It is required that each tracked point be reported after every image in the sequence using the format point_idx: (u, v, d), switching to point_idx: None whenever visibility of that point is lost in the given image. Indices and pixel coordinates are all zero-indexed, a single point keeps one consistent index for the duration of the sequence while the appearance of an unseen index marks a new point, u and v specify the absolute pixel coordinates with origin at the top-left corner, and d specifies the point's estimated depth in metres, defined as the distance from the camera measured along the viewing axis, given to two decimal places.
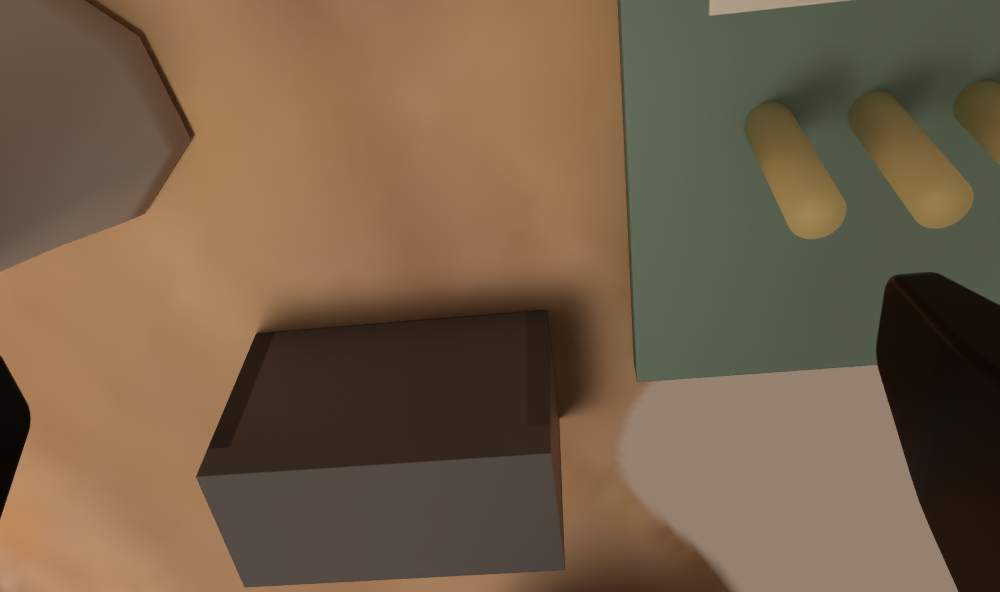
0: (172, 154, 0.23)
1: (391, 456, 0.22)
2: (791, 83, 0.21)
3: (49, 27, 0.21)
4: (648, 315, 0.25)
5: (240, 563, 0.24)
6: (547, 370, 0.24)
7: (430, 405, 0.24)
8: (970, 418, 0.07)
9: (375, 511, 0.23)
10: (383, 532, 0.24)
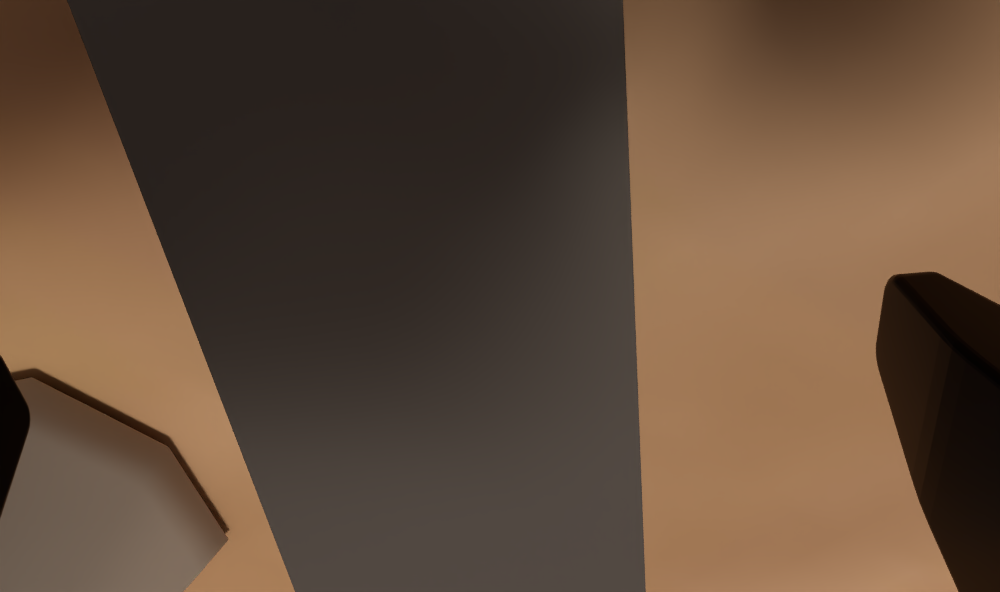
0: (31, 411, 0.17)
1: None
2: None
3: None
4: None
5: None
6: None
7: None
8: (970, 418, 0.07)
9: (372, 368, 0.09)
10: (446, 359, 0.09)
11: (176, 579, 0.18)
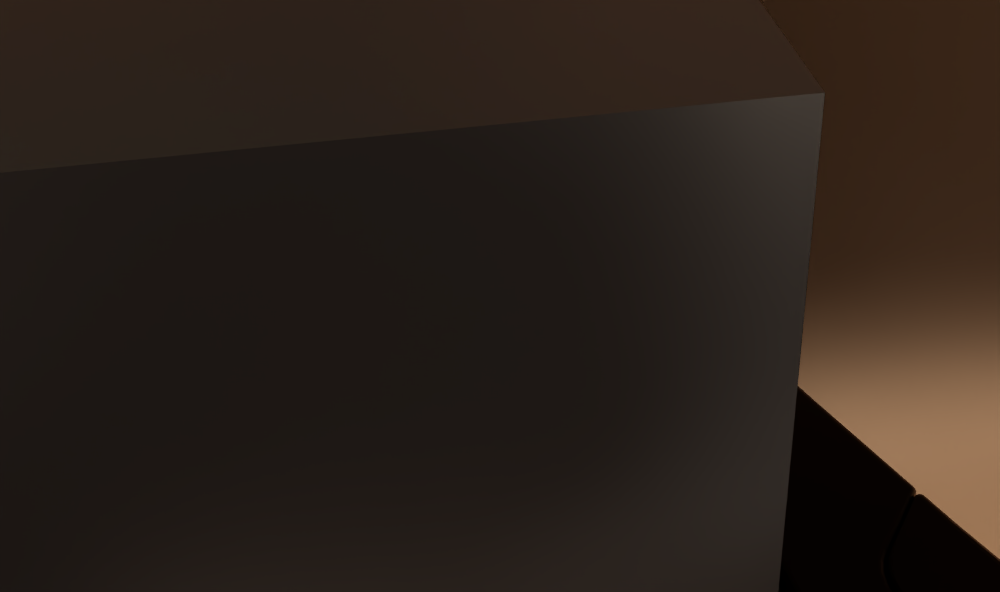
0: None
1: None
2: None
3: None
4: None
5: None
6: None
7: None
8: None
9: None
10: None
11: None
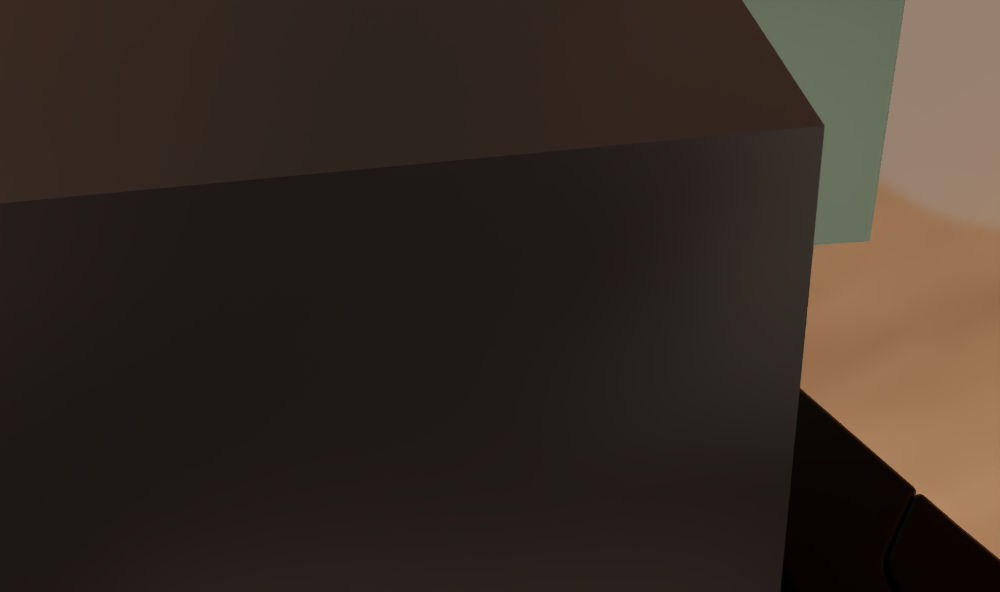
0: None
1: None
2: None
3: None
4: None
5: None
6: None
7: None
8: None
9: None
10: None
11: None
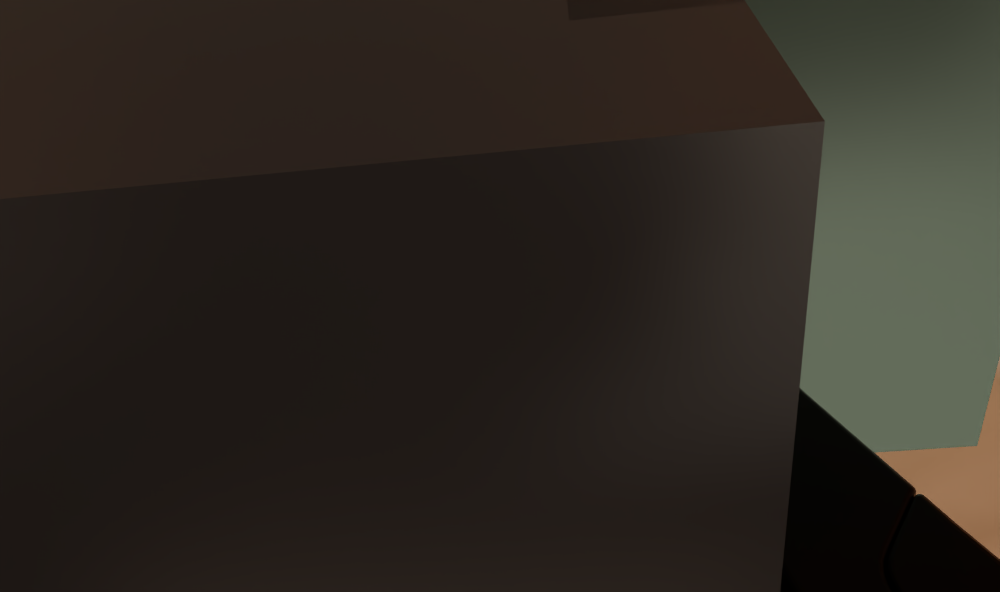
0: None
1: None
2: None
3: None
4: None
5: None
6: None
7: None
8: None
9: None
10: None
11: None
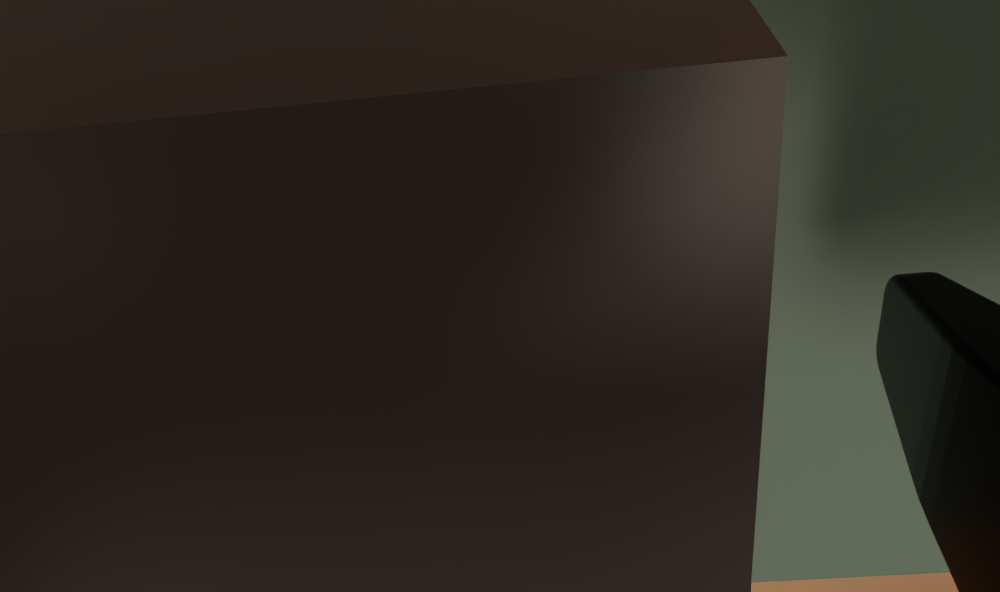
0: None
1: None
2: None
3: None
4: (877, 558, 0.13)
5: None
6: None
7: None
8: (970, 418, 0.07)
9: None
10: None
11: None
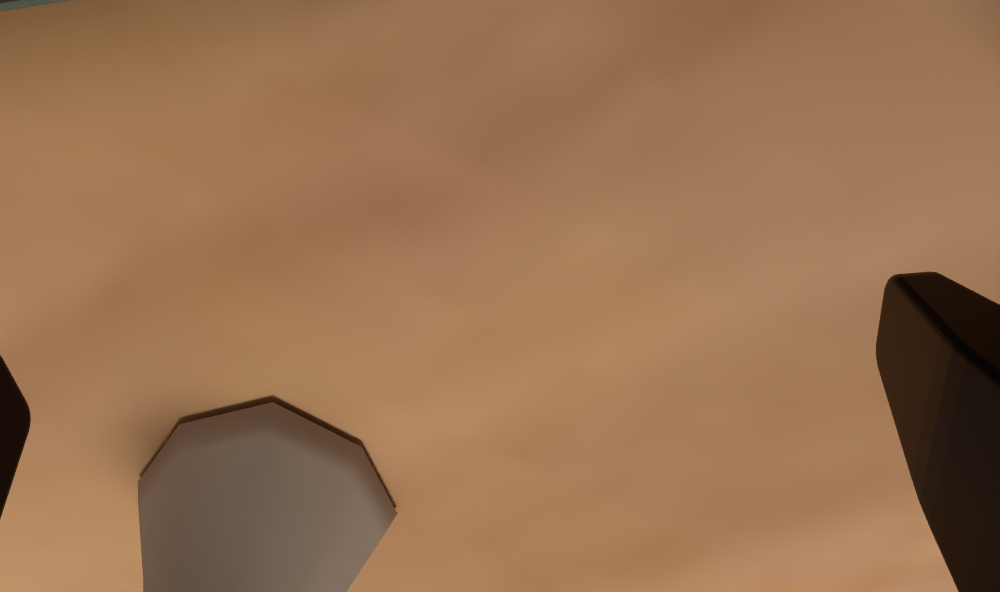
0: (276, 425, 0.24)
1: None
2: None
3: (155, 496, 0.25)
4: None
5: None
6: None
7: None
8: (970, 418, 0.07)
9: None
10: None
11: (369, 541, 0.26)
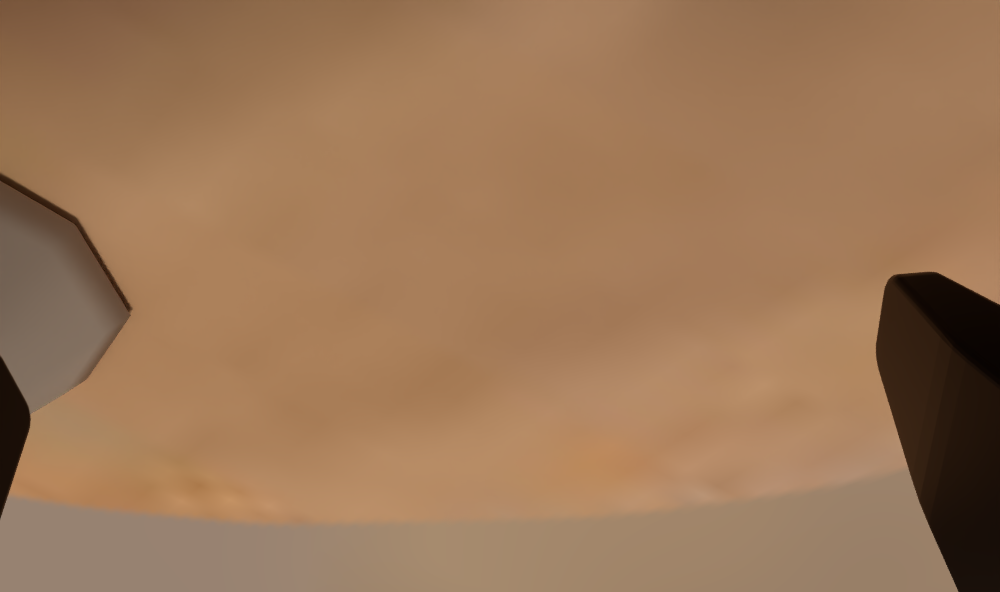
0: None
1: None
2: None
3: None
4: None
5: None
6: None
7: None
8: (970, 418, 0.07)
9: None
10: None
11: (81, 335, 0.22)
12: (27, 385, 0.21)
